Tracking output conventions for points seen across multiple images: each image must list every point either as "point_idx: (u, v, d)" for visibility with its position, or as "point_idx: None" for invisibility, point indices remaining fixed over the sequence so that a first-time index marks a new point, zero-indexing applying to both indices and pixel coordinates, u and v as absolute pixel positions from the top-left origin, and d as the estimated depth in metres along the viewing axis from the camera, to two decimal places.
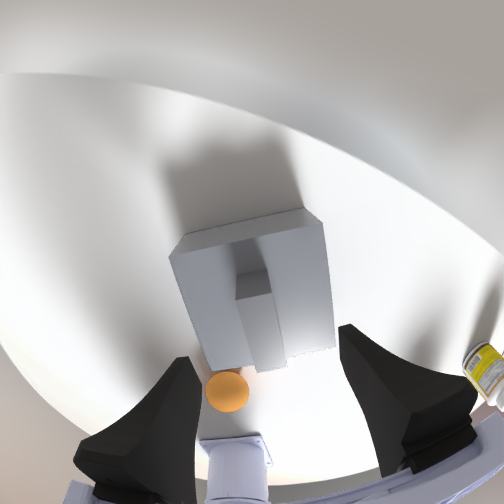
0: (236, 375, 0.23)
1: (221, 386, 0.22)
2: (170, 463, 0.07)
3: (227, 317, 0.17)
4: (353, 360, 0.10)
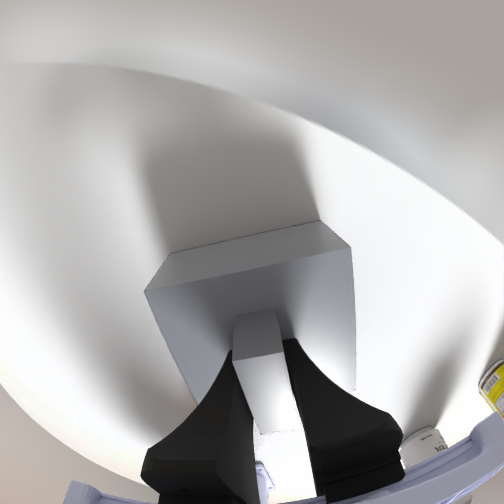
0: None
1: None
2: (243, 461, 0.07)
3: (222, 364, 0.13)
4: (291, 376, 0.10)
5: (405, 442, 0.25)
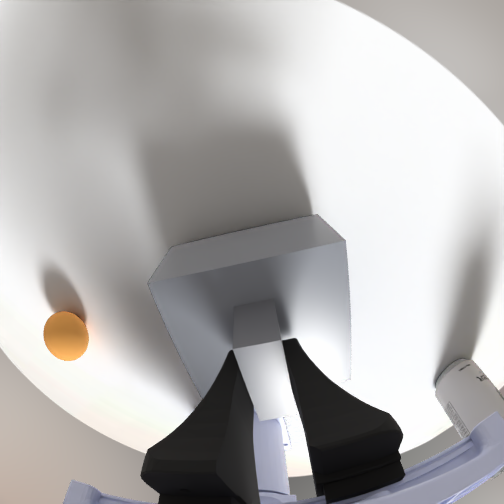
0: (65, 321, 0.17)
1: (47, 322, 0.16)
2: (243, 461, 0.07)
3: (223, 352, 0.14)
4: (290, 376, 0.10)
5: (441, 377, 0.23)
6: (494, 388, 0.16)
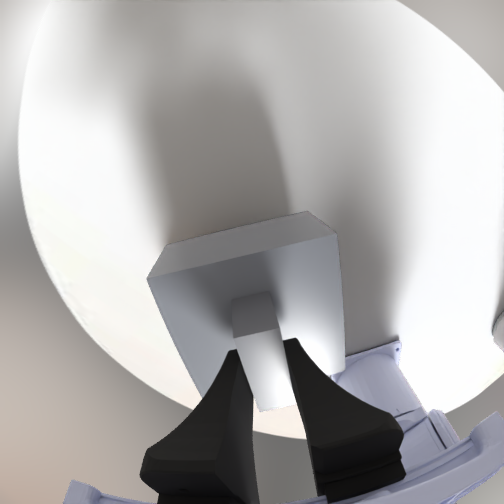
0: None
1: None
2: (242, 461, 0.07)
3: (220, 346, 0.14)
4: (291, 376, 0.10)
5: (497, 322, 0.25)
6: None
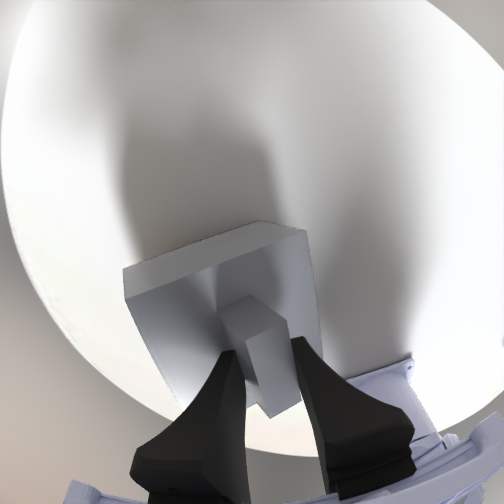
0: None
1: None
2: (232, 462, 0.07)
3: (208, 364, 0.13)
4: (299, 374, 0.10)
5: None
6: None
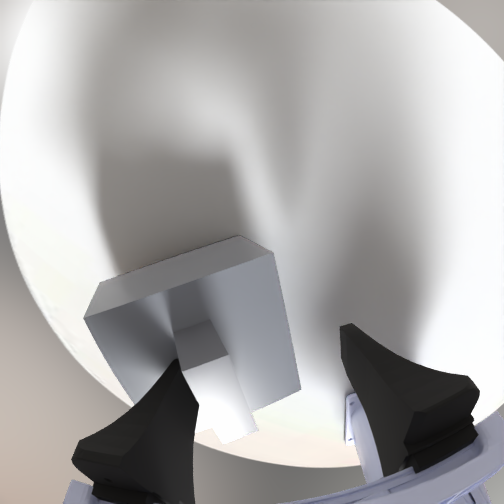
0: None
1: None
2: (168, 463, 0.07)
3: None
4: (355, 359, 0.10)
5: None
6: None
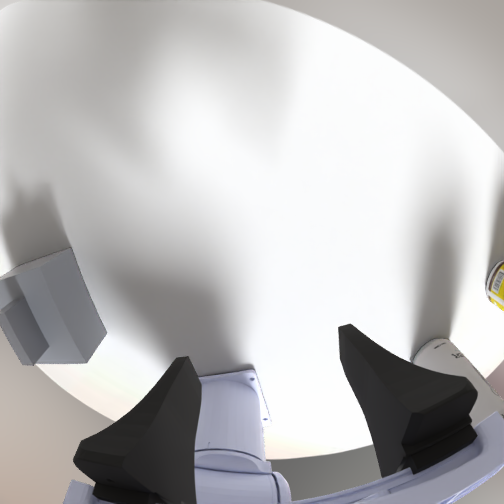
0: None
1: None
2: (170, 463, 0.07)
3: None
4: (353, 360, 0.10)
5: (417, 356, 0.26)
6: (471, 365, 0.19)
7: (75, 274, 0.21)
